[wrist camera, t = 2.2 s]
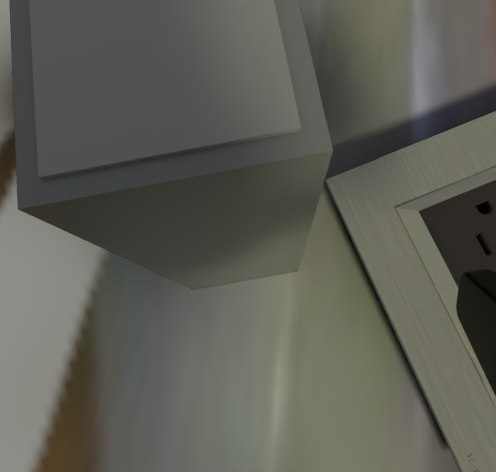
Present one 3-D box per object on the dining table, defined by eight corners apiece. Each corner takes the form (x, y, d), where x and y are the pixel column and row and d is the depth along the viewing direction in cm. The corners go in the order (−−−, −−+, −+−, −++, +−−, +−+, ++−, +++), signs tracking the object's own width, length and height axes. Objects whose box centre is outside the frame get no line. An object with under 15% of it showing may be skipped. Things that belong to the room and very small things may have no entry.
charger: (297, 271, 19) (333, 148, 6) (193, 289, 19) (13, 207, 6) (281, 185, 20) (282, -78, 7) (181, 204, 20) (5, -21, 7)
